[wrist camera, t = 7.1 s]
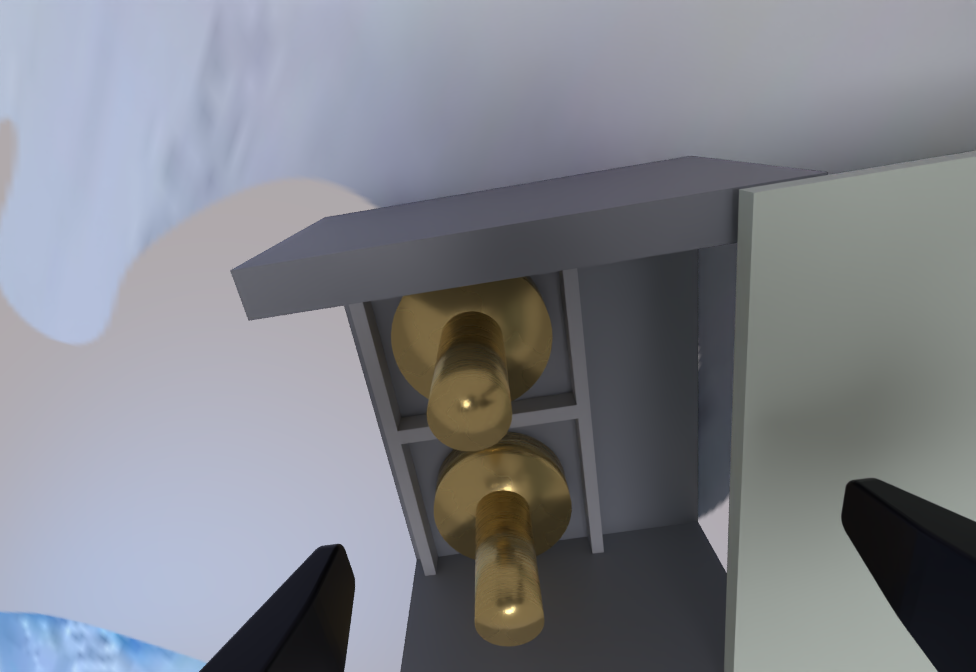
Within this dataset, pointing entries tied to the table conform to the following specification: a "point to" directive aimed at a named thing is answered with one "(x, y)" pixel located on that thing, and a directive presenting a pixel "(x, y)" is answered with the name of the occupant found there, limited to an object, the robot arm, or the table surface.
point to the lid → (845, 400)
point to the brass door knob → (472, 355)
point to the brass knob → (504, 528)
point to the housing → (552, 397)
